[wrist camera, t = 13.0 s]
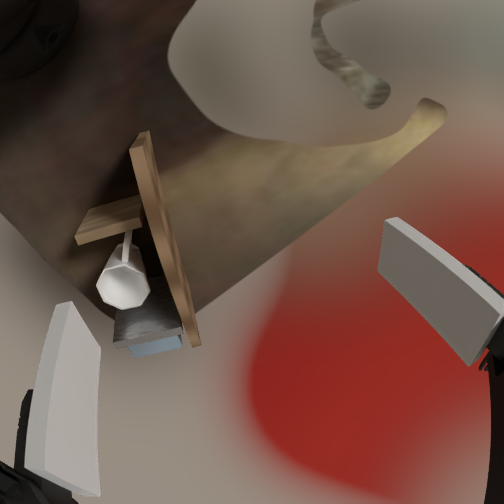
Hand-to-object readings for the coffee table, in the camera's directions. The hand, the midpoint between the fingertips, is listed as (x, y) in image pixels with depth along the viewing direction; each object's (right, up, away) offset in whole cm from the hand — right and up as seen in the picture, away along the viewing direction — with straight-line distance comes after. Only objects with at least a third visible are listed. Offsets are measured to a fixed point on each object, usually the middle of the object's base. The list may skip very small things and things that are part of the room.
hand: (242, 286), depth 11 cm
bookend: (-16, -3, +31) cm, 35 cm away
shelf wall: (-11, +6, +28) cm, 30 cm away
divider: (-18, +7, +24) cm, 31 cm away
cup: (-17, +2, +28) cm, 33 cm away
